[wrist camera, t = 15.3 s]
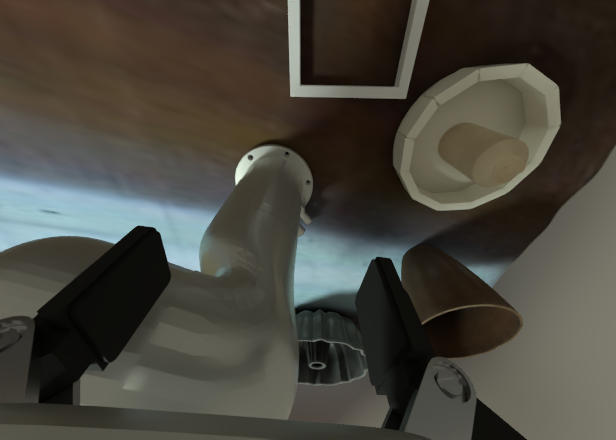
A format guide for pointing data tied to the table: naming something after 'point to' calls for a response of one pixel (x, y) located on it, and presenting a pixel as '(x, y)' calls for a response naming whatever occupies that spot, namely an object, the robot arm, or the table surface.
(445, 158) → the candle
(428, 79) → the table surface
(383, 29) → the table surface
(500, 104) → the bowl
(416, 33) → the white square frame
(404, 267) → the plant pot
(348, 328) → the bundt pan
